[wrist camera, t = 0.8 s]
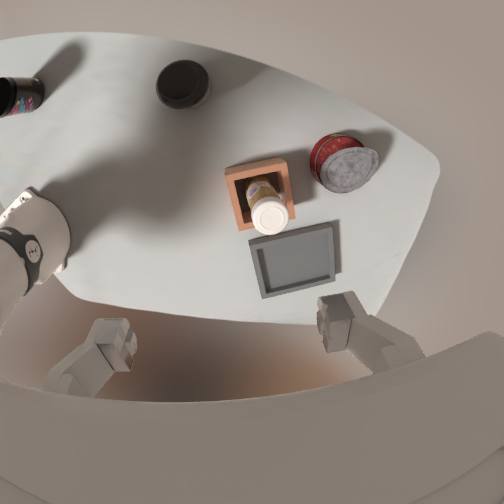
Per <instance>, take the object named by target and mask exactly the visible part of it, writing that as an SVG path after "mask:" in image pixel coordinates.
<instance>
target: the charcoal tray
mask: <svg viewBox="0 0 504 504" xmlns="http://www.w3.org/2000/svg"><path fill="white" fill-rule="evenodd" d="M249 246H250V250H251V255H252V259H253V263H254V267H255V271H256V276H257V280H258V284H259V288H260V293H261V297H262V299H264V298H269V297H273V296H277V295H281V294H286V293H290V292H294V291H298V290H302V289H306V288H310V287H314V286H318V285H322V284H326V283H329V282H333V281H335V259H334V241H333V227H332V226H331V225H330V223H324V224H320V225H315V226H311V227H306V228H302V229H297V230H293V231H288V232H284V233H279V234H275V235H271V236H266V237H262V238H257V239H253V240H249Z"/></svg>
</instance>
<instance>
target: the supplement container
mask: <svg viewBox="0 0 504 504" xmlns="http://www.w3.org/2000/svg"><path fill="white" fill-rule="evenodd" d="M43 96H44V85H43V83H42V81H41V80H40V79H38V78H22V77H2V78H0V118H3V117H6V116H11V115H17V114H23V113H29V112H32V111H34V110H35V109H36V108H37V107H38V106H39V105H40V103H41V101H42V99H43Z"/></svg>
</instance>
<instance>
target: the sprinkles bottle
mask: <svg viewBox="0 0 504 504" xmlns="http://www.w3.org/2000/svg"><path fill="white" fill-rule="evenodd" d="M245 194H246V196H247V200H248V204H249V207H250V209H251V217H252V221H253V224H254V226H255V228H256V229H257V230H258V231H259V232H261V233H263V234H266V235H274V234H277V233H279V232H281V231H282V230H284V229H285V227H286V226H287V224H288V222H289V211H288V209H287V207H286V205H285V204H284V202H283V201H281V200H280V197H279V195H278V194H277V192H276V191H275V189H274V188H273V186H272V185H271V183H270V181H269V180H268V179H267V178H266V177H264V176H254V177H252V178H250V179H249V180H248V181H247V182H246V184H245Z"/></svg>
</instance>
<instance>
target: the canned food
mask: <svg viewBox="0 0 504 504" xmlns="http://www.w3.org/2000/svg"><path fill="white" fill-rule="evenodd" d="M378 165H379V155H378V154H377V152H376V151H375V150H373V149H371V148H365V147H364V146H363V144H362V143H361V142H360V141H358V140H357V139H356V138H353V137H351V136H347V135H343V134H330V135H327V136H325V137H323V138H322V139H320V140H319V141H318V142H317V143H316V144H315V146H314V148H313V150H312V152H311V156H310V167H311V171H312V174H313V176H314V177H315V179H316V180H317V181H318V182H319V183H320V184H322V185H323V186H324V187H325V188H326V189H328V190H329V191H332V192H334V193H348V192H351V191H353V190H355V189H358V188H360V187H362V186H363V185H364V184H365V183H366V182H368V181H369V180H370V178H371V177H372V175H373V174H374V173H375V172H376V169H377V167H378Z"/></svg>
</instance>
